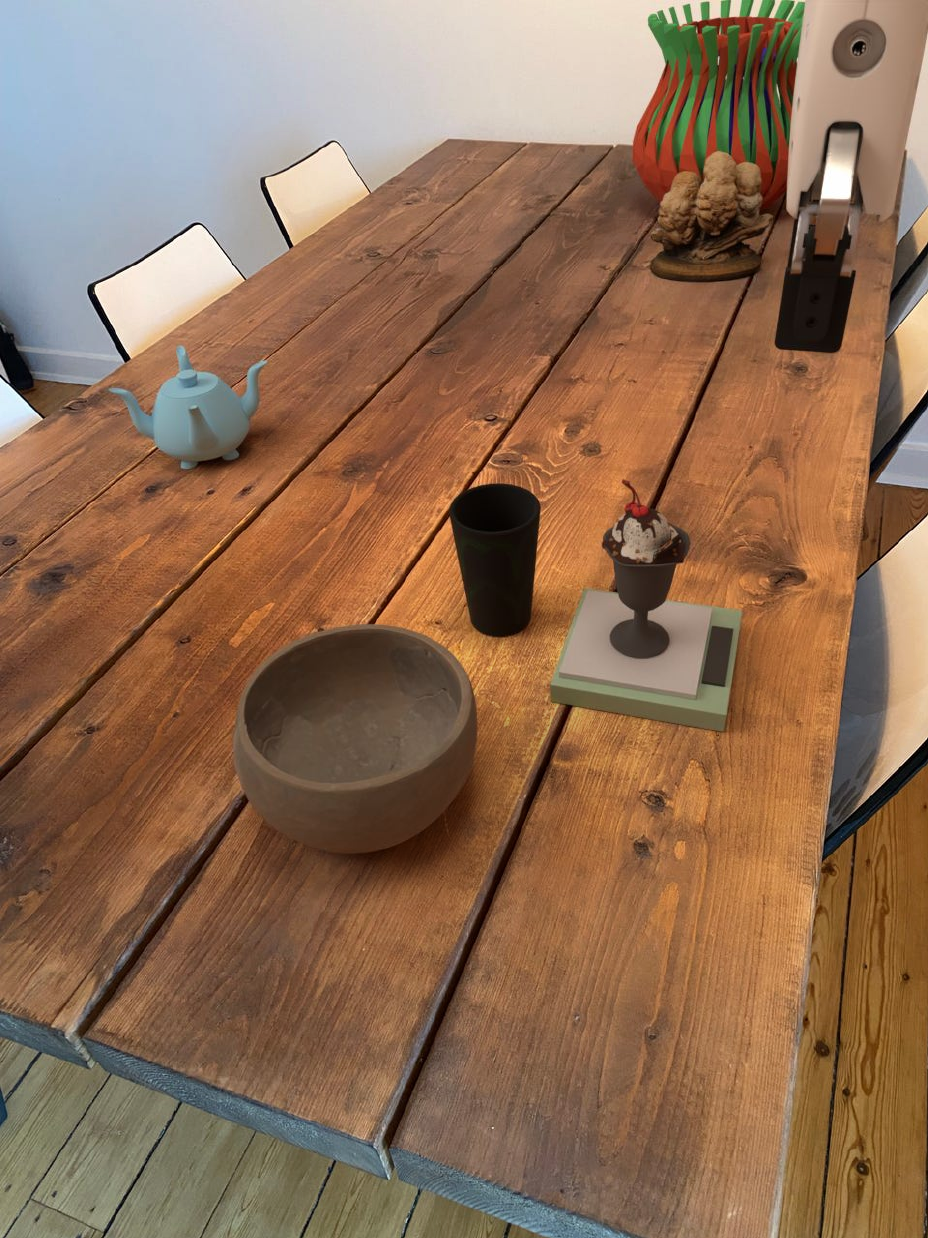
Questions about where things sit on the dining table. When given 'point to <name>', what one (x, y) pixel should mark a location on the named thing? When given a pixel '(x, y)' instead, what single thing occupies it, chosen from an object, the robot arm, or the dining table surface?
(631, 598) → the sundae
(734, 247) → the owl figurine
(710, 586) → the dining table surface
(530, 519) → the cup
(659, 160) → the vase
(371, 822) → the bowl
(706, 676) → the scale
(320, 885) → the dining table surface
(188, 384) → the teapot
